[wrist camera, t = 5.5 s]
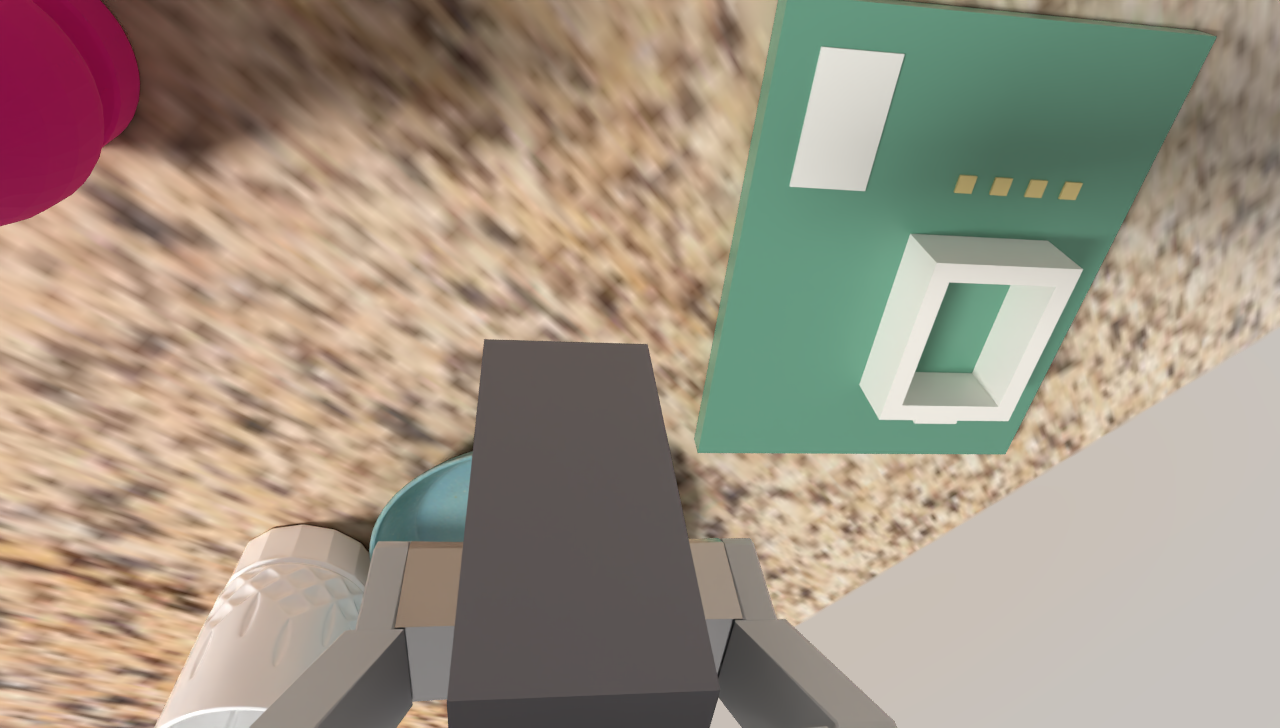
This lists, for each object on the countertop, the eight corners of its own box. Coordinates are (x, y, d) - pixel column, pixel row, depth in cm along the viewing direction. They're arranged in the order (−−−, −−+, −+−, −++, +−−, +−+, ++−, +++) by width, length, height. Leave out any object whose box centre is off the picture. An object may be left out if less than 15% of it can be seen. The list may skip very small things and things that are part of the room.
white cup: (416, 590, 41) (386, 778, 33) (285, 630, 42) (224, 824, 34) (339, 495, 37) (283, 686, 28) (193, 542, 37) (97, 741, 29)
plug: (484, 339, 14) (445, 714, 8) (647, 344, 14) (722, 702, 8) (486, 514, 16) (457, 894, 10) (624, 513, 17) (669, 877, 11)
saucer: (369, 404, 34) (357, 443, 32) (689, 417, 36) (698, 454, 34) (385, 611, 42) (377, 653, 40) (645, 610, 45) (650, 650, 43)
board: (780, -12, 25) (810, 9, 23) (1197, 30, 28) (1271, 53, 25) (694, 439, 37) (707, 490, 34) (995, 441, 39) (1031, 489, 36)
